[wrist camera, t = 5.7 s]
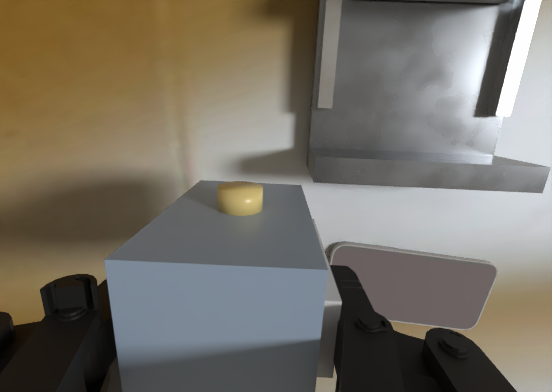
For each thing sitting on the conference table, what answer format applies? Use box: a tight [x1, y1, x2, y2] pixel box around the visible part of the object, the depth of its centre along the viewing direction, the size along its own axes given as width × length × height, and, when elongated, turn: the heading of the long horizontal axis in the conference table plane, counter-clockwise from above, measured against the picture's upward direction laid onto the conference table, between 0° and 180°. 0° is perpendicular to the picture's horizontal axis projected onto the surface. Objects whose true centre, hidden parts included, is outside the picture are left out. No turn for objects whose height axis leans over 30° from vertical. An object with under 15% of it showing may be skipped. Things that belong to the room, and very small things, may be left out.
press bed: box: [307, 0, 551, 193], centre depth 18 cm, size 14×15×7 cm
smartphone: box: [329, 241, 498, 330], centre depth 26 cm, size 7×1×15 cm
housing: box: [104, 180, 328, 392], centre depth 11 cm, size 5×7×8 cm
